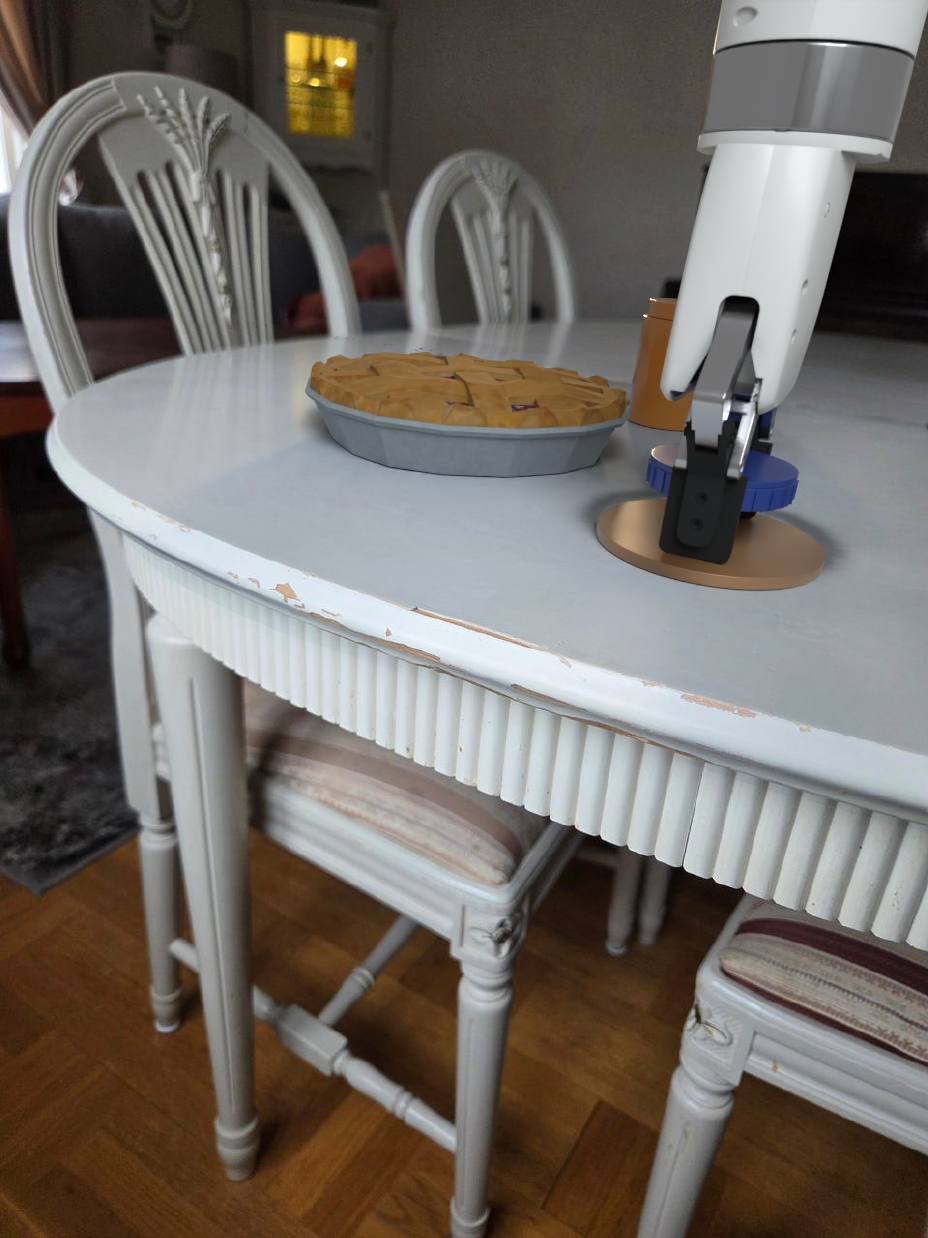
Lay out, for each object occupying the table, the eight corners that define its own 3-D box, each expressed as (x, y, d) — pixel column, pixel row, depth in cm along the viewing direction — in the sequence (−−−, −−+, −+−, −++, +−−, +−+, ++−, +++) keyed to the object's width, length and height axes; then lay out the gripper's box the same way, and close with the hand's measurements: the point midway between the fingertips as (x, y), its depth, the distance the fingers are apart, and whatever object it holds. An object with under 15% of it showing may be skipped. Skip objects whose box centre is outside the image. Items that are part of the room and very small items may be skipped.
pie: (682, 483, 51) (698, 402, 49) (328, 489, 45) (328, 395, 43) (551, 406, 70) (559, 344, 68) (288, 402, 64) (287, 334, 61)
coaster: (831, 538, 44) (834, 527, 44) (810, 611, 35) (814, 598, 34) (630, 496, 48) (632, 486, 48) (565, 553, 39) (566, 541, 39)
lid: (627, 492, 39) (632, 462, 38) (665, 461, 44) (670, 435, 44) (781, 523, 36) (789, 492, 35) (801, 486, 42) (808, 459, 41)
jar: (710, 421, 69) (734, 304, 65) (694, 434, 64) (719, 308, 60) (638, 409, 71) (657, 295, 67) (617, 421, 66) (636, 299, 62)
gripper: (740, 136, 42) (675, 479, 50) (651, 78, 28) (580, 571, 35) (902, 142, 39) (807, 504, 47) (896, 80, 25) (761, 615, 33)
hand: (710, 530), depth 41 cm, fingers closed on lid, 6 cm apart
